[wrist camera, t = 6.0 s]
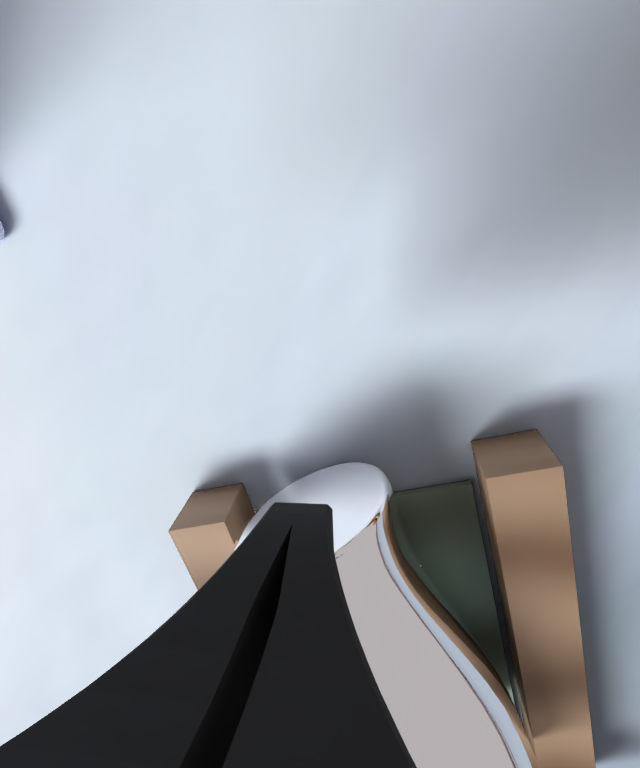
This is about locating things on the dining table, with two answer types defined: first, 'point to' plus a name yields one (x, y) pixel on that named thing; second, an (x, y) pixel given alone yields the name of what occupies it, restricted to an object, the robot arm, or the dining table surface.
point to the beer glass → (411, 630)
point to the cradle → (474, 575)
